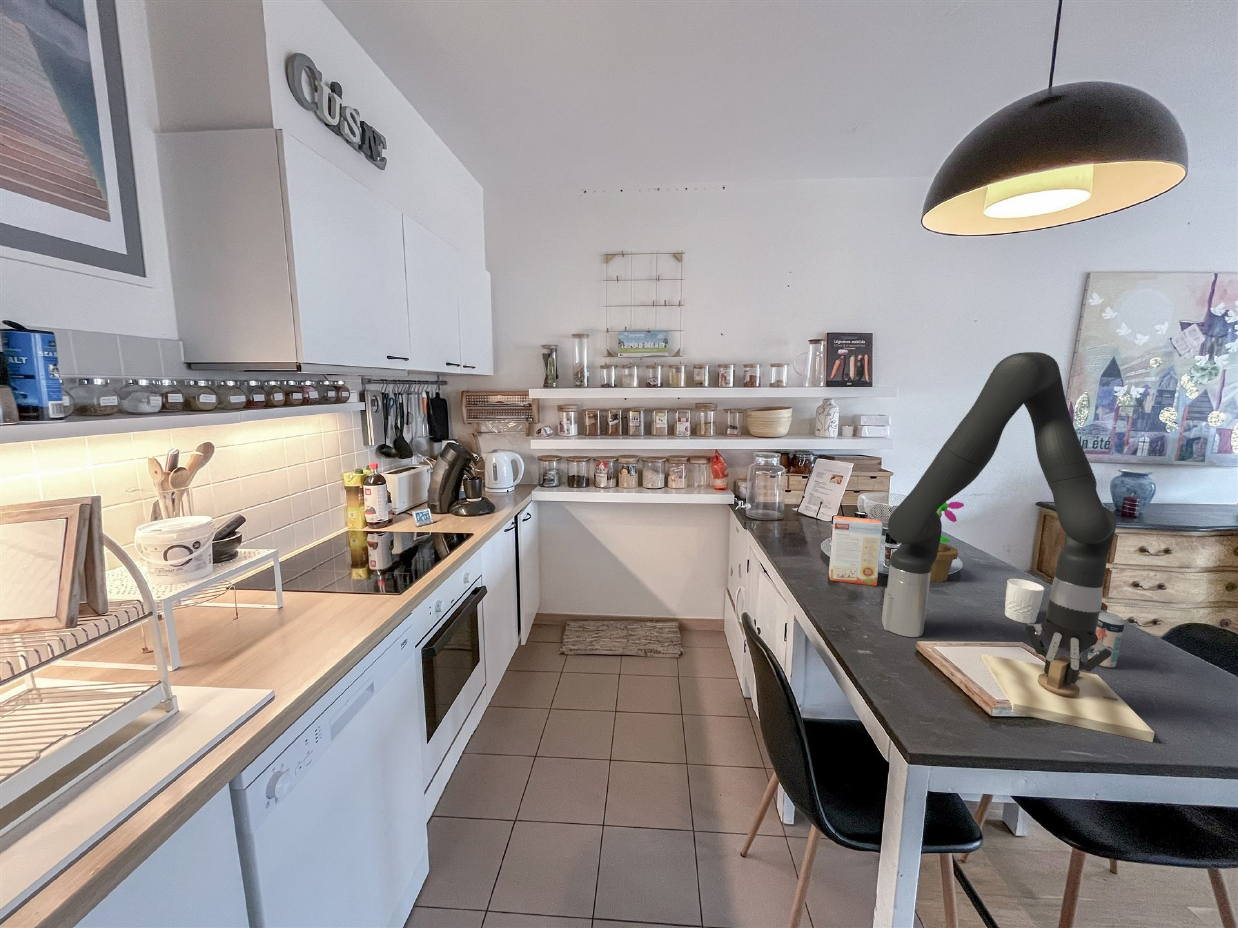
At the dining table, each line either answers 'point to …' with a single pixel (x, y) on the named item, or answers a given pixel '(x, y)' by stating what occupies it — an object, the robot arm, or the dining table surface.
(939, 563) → the flowerpot
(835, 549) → the cracker box
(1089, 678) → the dial board
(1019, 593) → the white cup
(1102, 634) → the beer can
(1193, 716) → the dining table surface
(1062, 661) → the tuning knob
